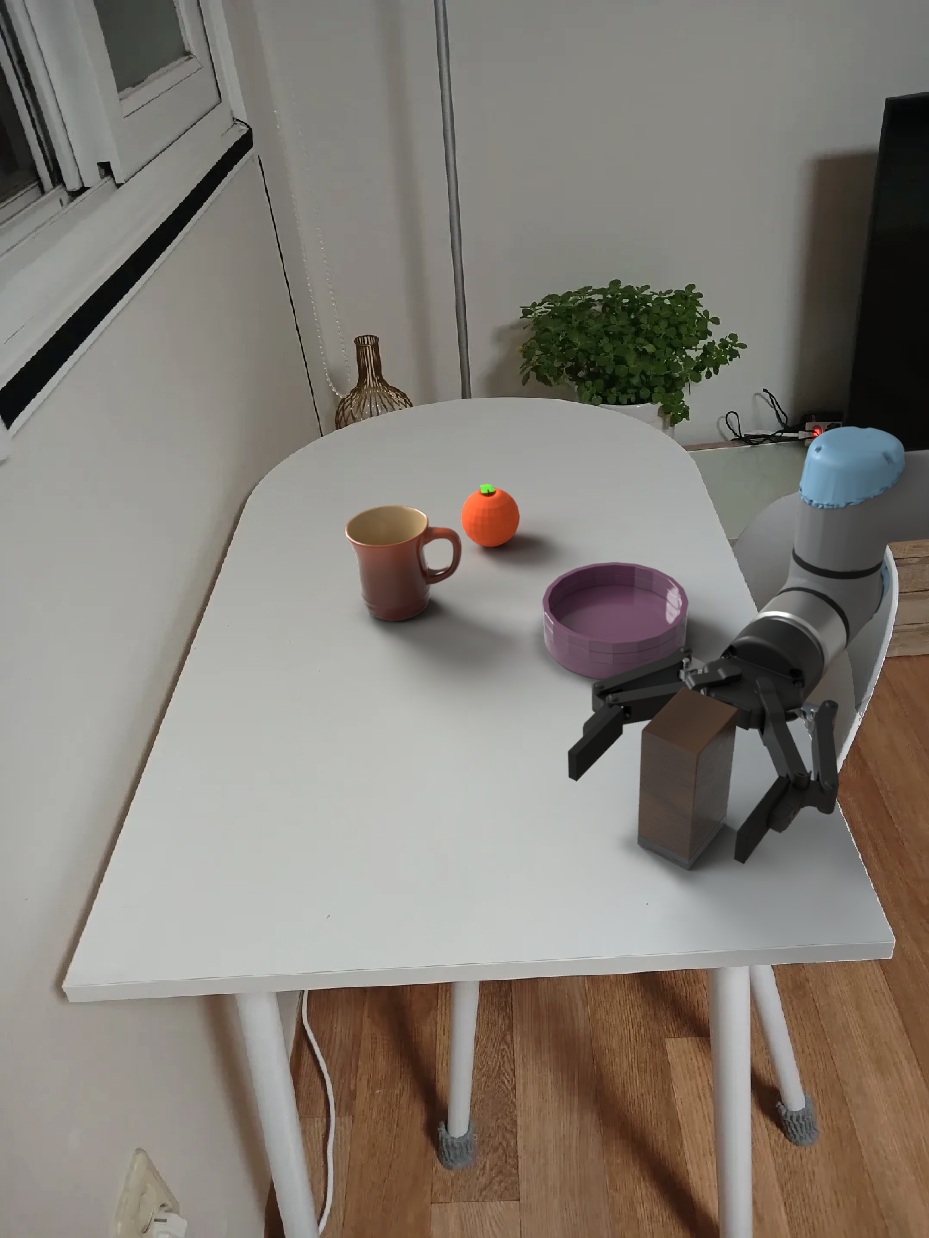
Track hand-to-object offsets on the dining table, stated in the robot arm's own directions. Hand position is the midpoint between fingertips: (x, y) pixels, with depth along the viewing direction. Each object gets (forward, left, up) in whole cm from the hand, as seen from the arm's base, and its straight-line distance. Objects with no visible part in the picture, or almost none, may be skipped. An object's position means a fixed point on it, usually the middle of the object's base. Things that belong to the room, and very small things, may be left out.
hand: (651, 805), depth 68 cm
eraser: (+1, -5, -8) cm, 9 cm away
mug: (+43, -8, -8) cm, 44 cm away
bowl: (+24, -20, -8) cm, 32 cm away
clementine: (+48, -23, -8) cm, 53 cm away
